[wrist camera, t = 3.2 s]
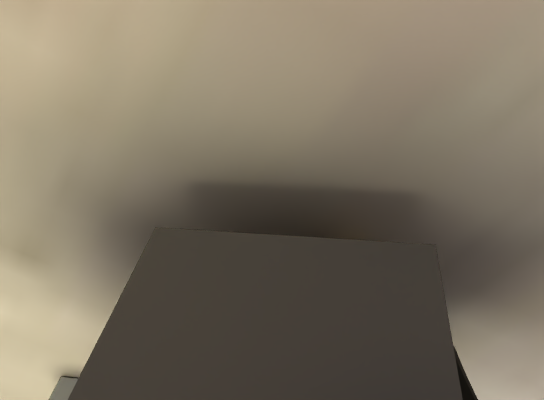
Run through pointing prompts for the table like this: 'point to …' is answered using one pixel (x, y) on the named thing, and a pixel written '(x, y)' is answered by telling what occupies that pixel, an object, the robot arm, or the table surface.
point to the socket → (63, 388)
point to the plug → (276, 322)
